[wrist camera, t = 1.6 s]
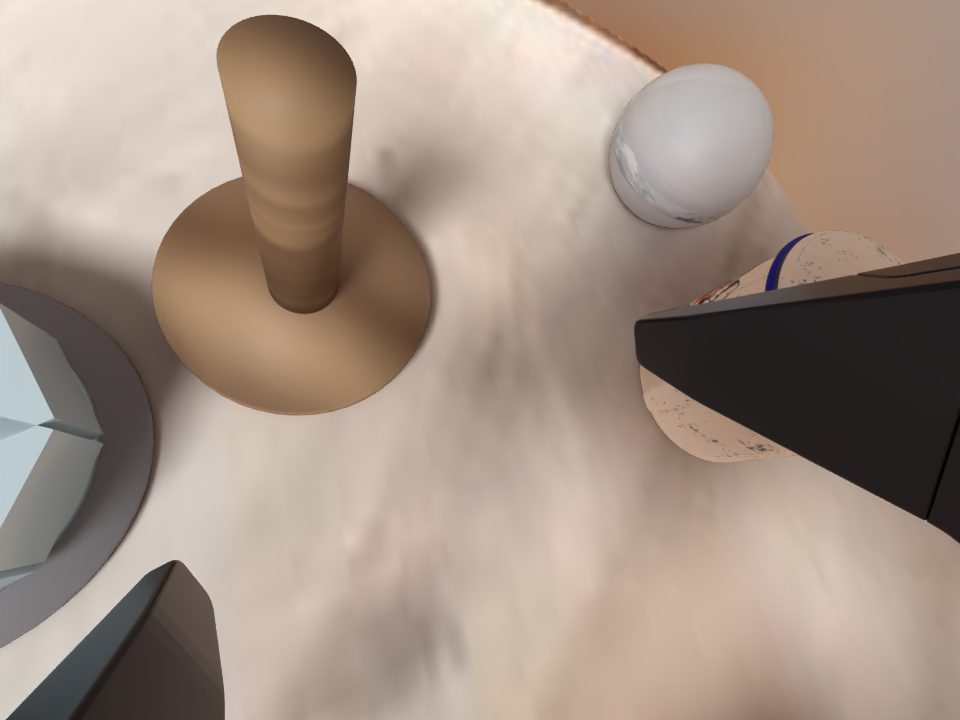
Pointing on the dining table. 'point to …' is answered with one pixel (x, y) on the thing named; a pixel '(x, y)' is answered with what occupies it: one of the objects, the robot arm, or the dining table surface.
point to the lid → (290, 241)
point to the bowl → (40, 445)
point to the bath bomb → (691, 145)
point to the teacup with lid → (791, 267)
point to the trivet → (117, 470)
